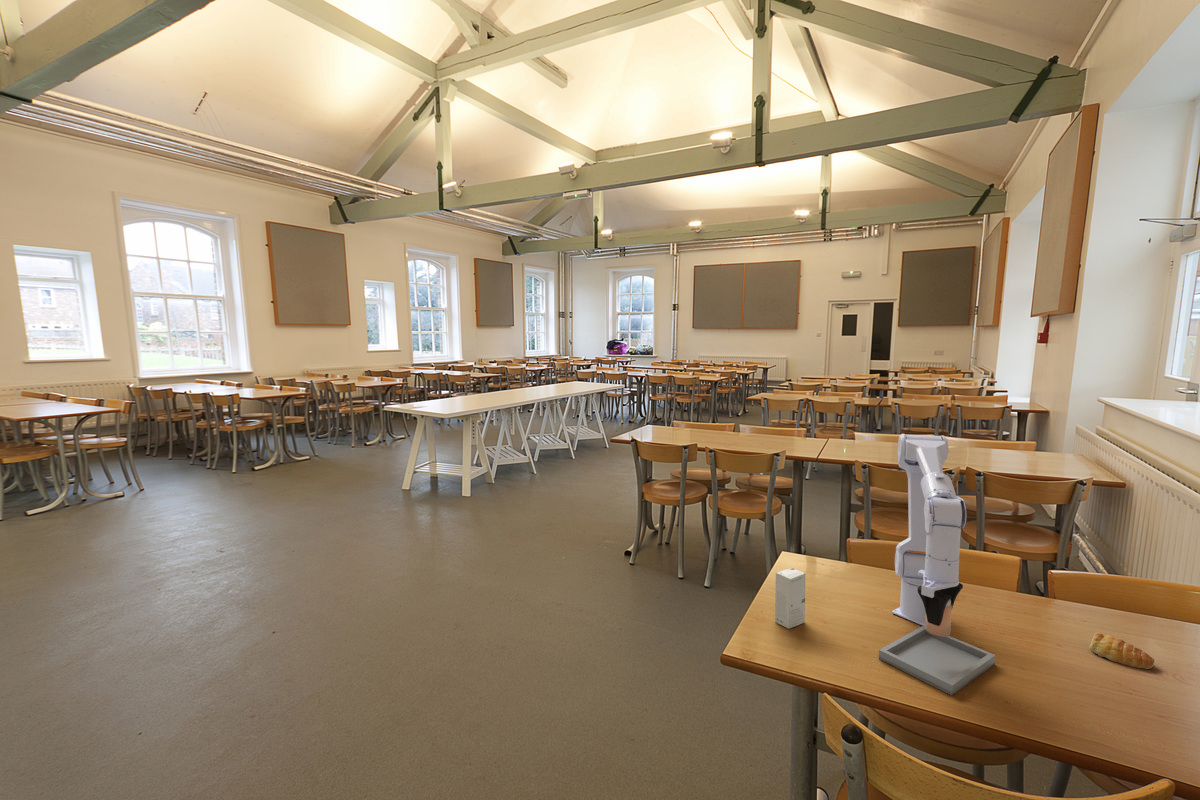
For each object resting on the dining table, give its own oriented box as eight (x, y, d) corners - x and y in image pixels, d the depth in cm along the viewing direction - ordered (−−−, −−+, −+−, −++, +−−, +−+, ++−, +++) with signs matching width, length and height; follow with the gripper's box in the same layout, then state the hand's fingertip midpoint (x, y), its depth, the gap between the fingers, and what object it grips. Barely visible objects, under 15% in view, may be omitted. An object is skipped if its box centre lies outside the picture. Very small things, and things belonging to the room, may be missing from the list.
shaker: (929, 623, 112) (930, 591, 111) (953, 631, 109) (954, 598, 108) (921, 630, 109) (923, 597, 108) (946, 639, 106) (948, 605, 105)
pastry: (1156, 663, 108) (1157, 646, 108) (1149, 676, 104) (1151, 658, 104) (1094, 643, 116) (1096, 626, 116) (1086, 654, 112) (1088, 637, 112)
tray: (923, 633, 120) (923, 625, 120) (994, 664, 108) (995, 655, 108) (878, 658, 110) (879, 649, 110) (951, 695, 99) (952, 685, 98)
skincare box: (789, 629, 122) (790, 579, 121) (773, 621, 126) (774, 572, 125) (805, 622, 126) (807, 573, 124) (789, 614, 129) (791, 566, 128)
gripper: (933, 541, 115) (930, 601, 116) (906, 559, 106) (903, 623, 107) (971, 551, 109) (967, 613, 111) (946, 570, 100) (942, 638, 102)
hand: (938, 619), depth 108 cm, fingers closed on shaker, 4 cm apart
